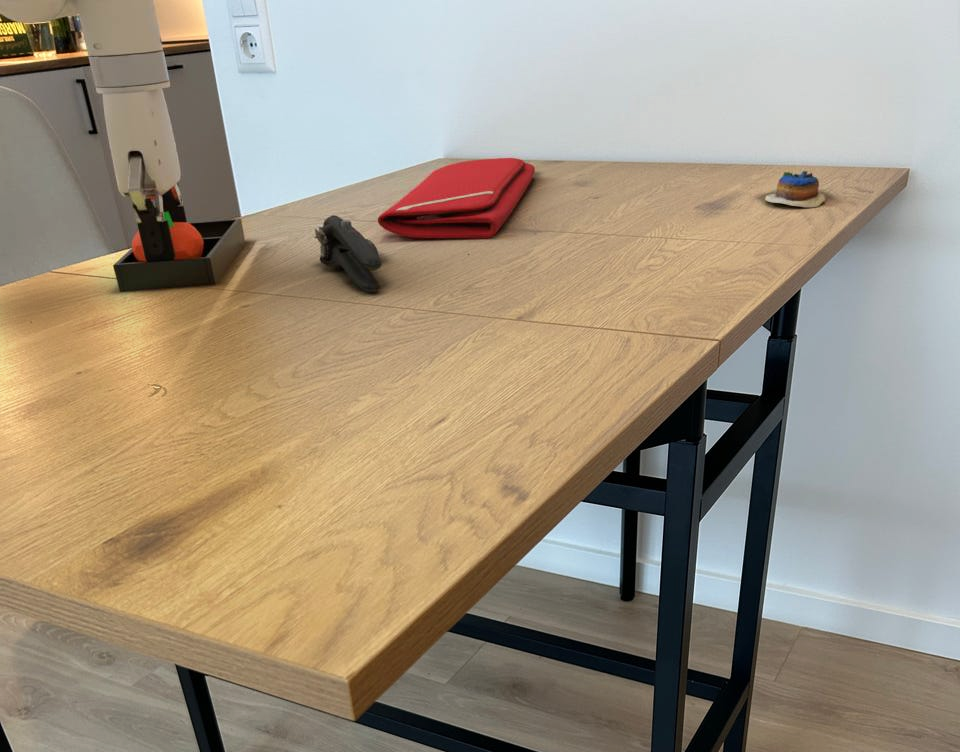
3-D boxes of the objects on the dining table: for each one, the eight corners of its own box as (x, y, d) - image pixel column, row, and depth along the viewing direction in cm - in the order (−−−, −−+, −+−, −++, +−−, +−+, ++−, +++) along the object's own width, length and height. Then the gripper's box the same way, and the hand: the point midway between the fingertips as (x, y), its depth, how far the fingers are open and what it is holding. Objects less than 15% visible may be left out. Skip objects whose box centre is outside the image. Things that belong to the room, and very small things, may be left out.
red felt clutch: (537, 177, 157) (536, 150, 154) (499, 238, 123) (498, 206, 121) (439, 181, 159) (437, 155, 157) (376, 242, 126) (372, 211, 124)
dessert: (821, 203, 124) (798, 160, 123) (774, 234, 128) (751, 193, 128) (835, 196, 130) (813, 154, 129) (790, 225, 134) (768, 186, 134)
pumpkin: (136, 269, 117) (122, 210, 113) (205, 260, 119) (194, 202, 115) (140, 283, 111) (125, 222, 108) (212, 273, 113) (200, 213, 110)
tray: (121, 297, 111) (112, 265, 109) (163, 253, 129) (157, 224, 127) (216, 290, 111) (209, 257, 109) (246, 247, 129) (241, 218, 127)
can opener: (313, 264, 119) (305, 213, 116) (370, 256, 120) (364, 205, 117) (341, 300, 104) (333, 243, 101) (406, 290, 106) (400, 234, 103)
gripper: (117, 69, 111) (154, 237, 121) (68, 84, 97) (115, 273, 107) (184, 65, 111) (216, 233, 121) (146, 79, 97) (186, 268, 107)
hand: (169, 250), depth 114 cm, fingers closed on pumpkin, 7 cm apart
